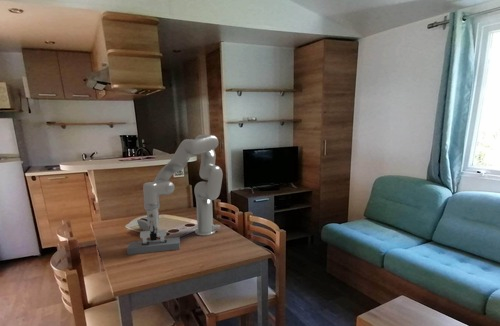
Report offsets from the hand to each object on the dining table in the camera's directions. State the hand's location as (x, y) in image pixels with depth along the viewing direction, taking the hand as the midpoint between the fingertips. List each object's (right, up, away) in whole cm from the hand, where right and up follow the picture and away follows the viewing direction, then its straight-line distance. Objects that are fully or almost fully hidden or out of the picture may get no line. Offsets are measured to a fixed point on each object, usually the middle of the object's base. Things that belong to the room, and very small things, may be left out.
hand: (153, 238), depth 147 cm
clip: (0, -5, +1) cm, 5 cm away
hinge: (-12, -3, +26) cm, 29 cm away
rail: (0, -6, +1) cm, 6 cm away
